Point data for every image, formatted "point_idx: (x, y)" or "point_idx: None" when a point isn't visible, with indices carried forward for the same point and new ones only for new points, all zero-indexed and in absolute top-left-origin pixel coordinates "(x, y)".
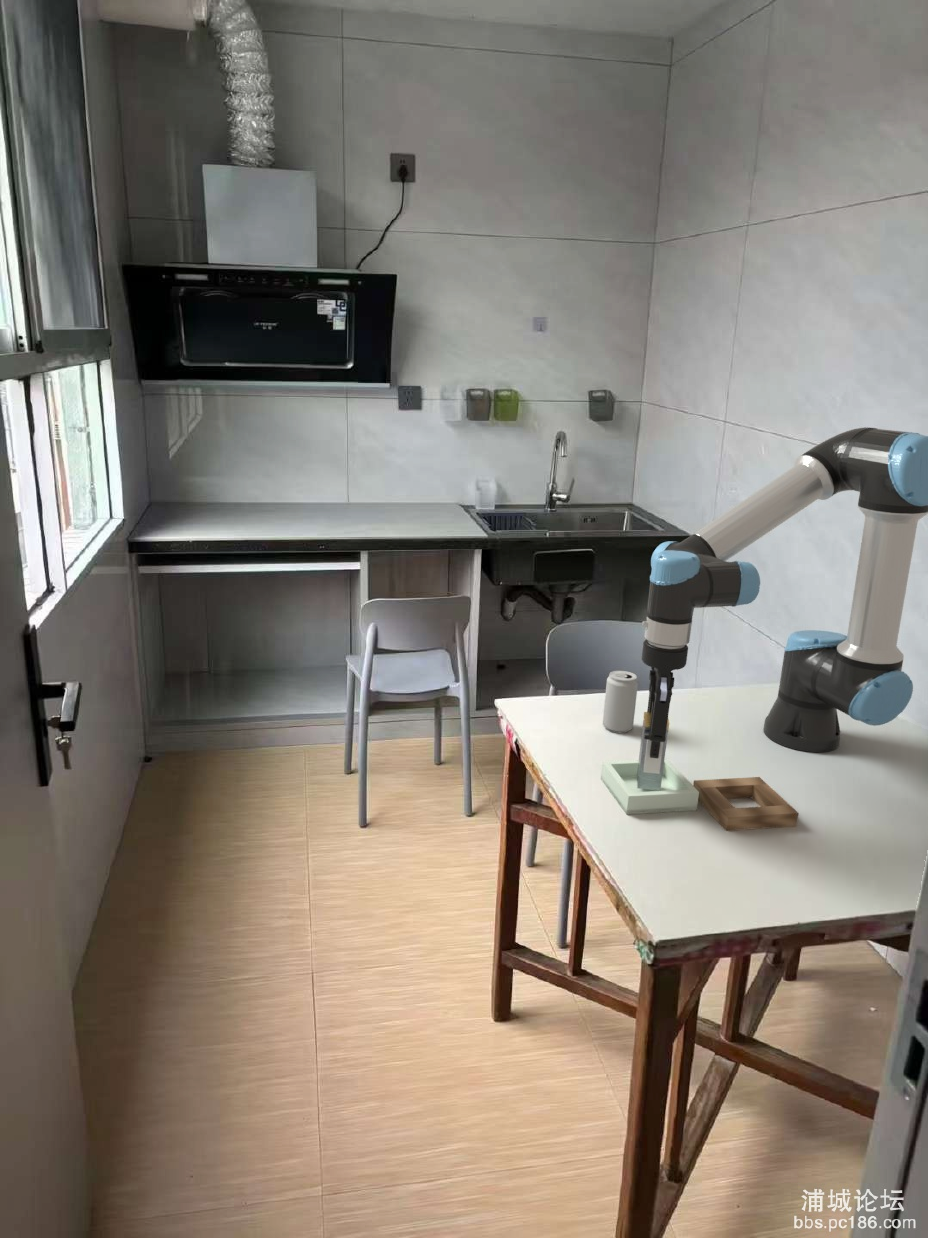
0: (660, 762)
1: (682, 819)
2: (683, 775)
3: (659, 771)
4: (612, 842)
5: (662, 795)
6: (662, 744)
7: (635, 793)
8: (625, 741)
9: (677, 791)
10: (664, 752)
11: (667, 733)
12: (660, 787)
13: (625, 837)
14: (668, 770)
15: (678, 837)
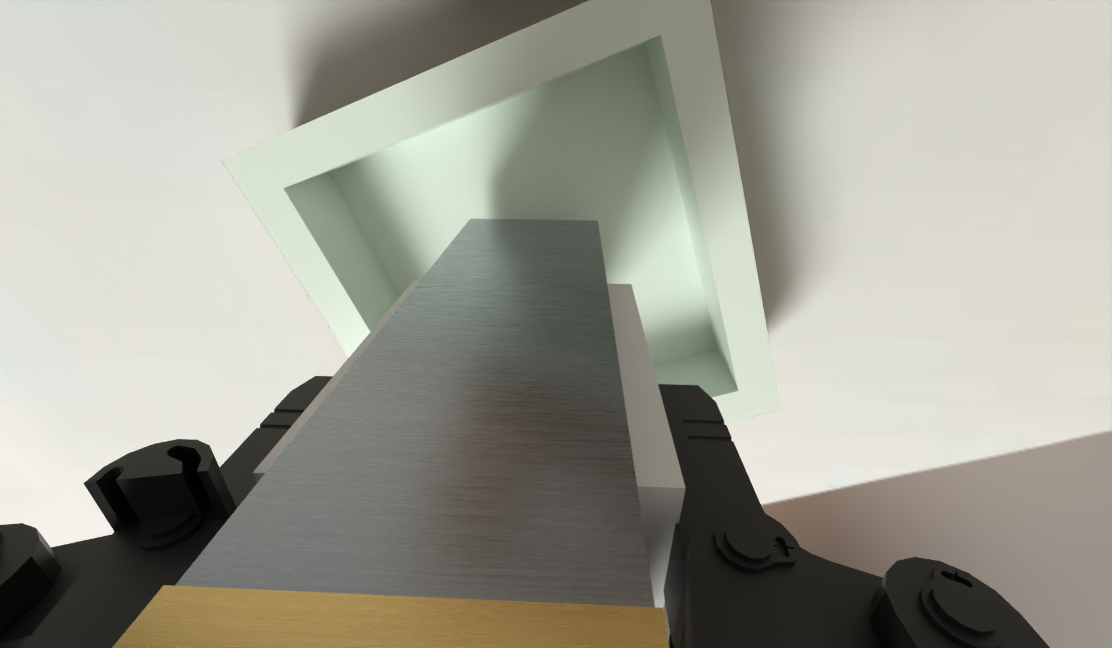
0: (640, 327)
1: (784, 91)
2: (446, 64)
3: (632, 292)
4: (965, 410)
5: (749, 236)
6: (668, 444)
7: (747, 378)
8: (26, 324)
9: (704, 136)
10: (613, 343)
11: (640, 520)
12: (598, 227)
13: (934, 366)
14: (356, 159)
15: (973, 133)
